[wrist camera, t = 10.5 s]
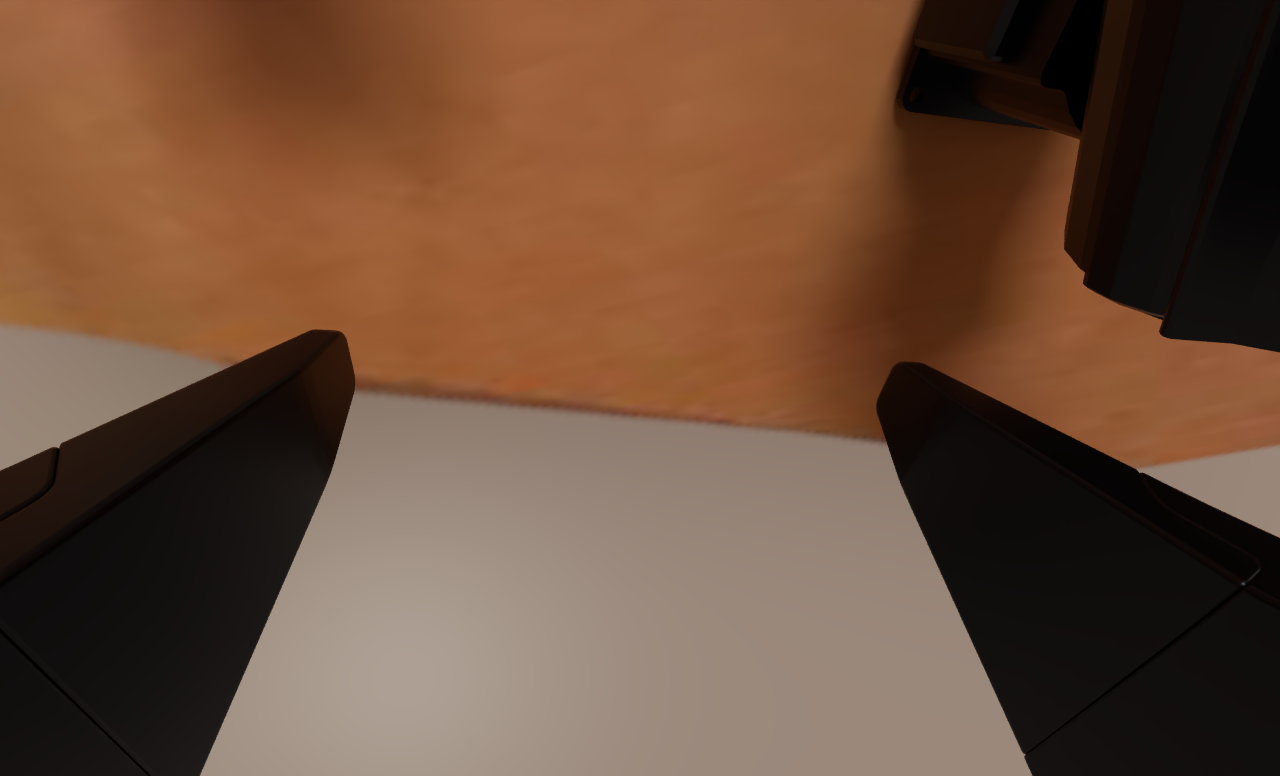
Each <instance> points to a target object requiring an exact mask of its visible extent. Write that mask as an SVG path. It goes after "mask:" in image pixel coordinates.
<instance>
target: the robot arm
mask: <svg viewBox="0 0 1280 776" xmlns="http://www.w3.org/2000/svg"><path fill="white" fill-rule="evenodd" d="M914 41H915V46H914V49H913V51H912V54H911V57H910V60H909V63H908V65H907V68H906V71H905V74H904V77H903V79H902V82H901V85H900V88H899V90H898V95H897V102H898V105H899V106H900V107H901V108H903V109H905V110H908V111H910V112H916V113H924V114H931V115H939V116H947V117H954V118H962V119H970V120H977V121H985V122H993V123H1000V124H1008V125H1016V126H1023V127H1031V128H1039V129H1046V130H1053V131H1056V132H1059V133H1062V134H1065V135H1068V136H1071V137H1074V138H1077V139H1080V144H1079V150H1078V155H1077V161H1076V167H1075V173H1074V179H1073V184H1072V190H1071V196H1070V202H1069V206H1068V212H1067V218H1066V225H1065V234H1064V250H1065V251H1066V252H1067V253H1068V255H1069V256H1070V257H1071V258H1072V259H1073V261H1074V262H1075V263H1076V264H1077V266H1078V267H1079V268H1080V269H1081V270H1083V271H1084V272H1085V275H1084V279H1083V284H1084V285H1085V286H1086V287H1087V288H1089V289H1090V290H1092V291H1094V292H1095V293H1097V294H1099V295H1101V296H1103V297H1105V298H1107V299H1109V300H1111V301H1113V302H1115V303H1117V304H1119V305H1122V306H1125V307H1128V308H1131V309H1134V310H1137V311H1140V312H1143V313H1145V314H1148V315H1150V316H1153V317H1156V318H1158V319H1161V320H1163V321H1162V324H1161V327H1160V330H1159V332H1160V334H1161V335H1162V336H1163V337H1166V338H1169V339H1180V340H1193V341H1206V342H1219V343H1232V344H1237V345H1243V346H1248V347H1253V348H1259V349H1264V350H1270V351H1275V352H1280V0H926V2H925V5H924V8H923V11H922V14H921V17H920V19H919V22H918V25H917V28H916V31H915V34H914ZM915 88H918V89H919V93H918V96H917V98H916V99H915V100H913V101H911V102H910V94H911V92H912V91H913V90H914V89H915ZM354 391H355V374H354V370H353V365H352V361H351V356H350V352H349V347H348V343H347V339H346V337H345V335H344V334H343V333H342V332H340V331H335V330H317V329H315V330H310V331H308V332H306V333H303V334H301V335H299V336H297V337H295V338H292V339H290V340H288V341H286V342H284V343H281V344H279V345H277V346H275V347H273V348H270V349H268V350H266V351H264V352H262V353H259V354H257V355H255V356H253V357H251V358H248V359H246V360H244V361H242V362H240V363H237V364H235V365H233V366H231V367H229V368H226V369H224V370H222V371H220V372H218V373H215V374H213V375H211V376H209V377H206V378H204V379H202V380H200V381H198V382H195V383H193V384H191V385H189V386H187V387H185V388H183V389H180V390H178V391H176V392H174V393H171V394H169V395H167V396H165V397H163V398H160V399H158V400H156V401H154V402H151V403H149V404H147V405H145V406H143V407H140V408H138V409H136V410H134V411H132V412H129V413H127V414H125V415H123V416H121V417H118V418H116V419H114V420H112V421H110V422H107V423H105V424H103V425H101V426H99V427H96V428H94V429H92V430H90V431H88V432H85V433H83V434H81V435H79V436H77V437H74V438H72V439H70V440H68V441H66V442H63V443H61V445H60V447H59V448H57V447H52V448H50V449H47V450H45V451H43V452H41V453H39V454H36V455H34V456H32V457H30V458H28V459H25V460H23V461H21V462H19V463H17V464H14V465H12V466H10V467H8V468H5V469H3V470H1V471H0V776H200V774H201V772H202V769H203V767H204V765H205V763H206V760H207V758H208V756H209V753H210V751H211V748H212V746H213V744H214V742H215V740H216V737H217V735H218V733H219V730H220V728H221V726H222V723H223V721H224V719H225V717H226V714H227V712H228V710H229V707H230V705H231V703H232V700H233V698H234V696H235V694H236V691H237V689H238V686H239V684H240V682H241V680H242V677H243V675H244V673H245V671H246V668H247V666H248V663H249V661H250V659H251V657H252V654H253V652H254V650H255V647H256V645H257V643H258V640H259V638H260V636H261V634H262V631H263V629H264V627H265V624H266V622H267V620H268V617H269V615H270V613H271V610H272V608H273V606H274V604H275V601H276V599H277V597H278V594H279V592H280V590H281V588H282V585H283V583H284V581H285V578H286V576H287V574H288V571H289V569H290V567H291V565H292V562H293V560H294V558H295V555H296V553H297V551H298V549H299V546H300V544H301V542H302V539H303V537H304V535H305V532H306V530H307V528H308V525H309V523H310V521H311V518H312V516H313V514H314V512H315V509H316V507H317V505H318V502H319V500H320V498H321V496H322V493H323V491H324V489H325V486H326V484H327V481H328V479H329V476H330V474H331V470H332V468H333V464H334V461H335V458H336V454H337V451H338V447H339V444H340V440H341V437H342V433H343V430H344V426H345V423H346V419H347V416H348V412H349V409H350V405H351V402H352V398H353V395H354ZM876 409H877V414H878V417H879V421H880V424H881V427H882V430H883V433H884V436H885V439H886V442H887V445H888V448H889V451H890V454H891V457H892V460H893V463H894V466H895V469H896V472H897V475H898V478H899V480H900V483H901V486H902V488H903V490H904V493H905V495H906V498H907V499H908V502H909V504H910V506H911V509H912V511H913V513H914V515H915V517H916V519H917V522H918V524H919V526H920V528H921V530H922V533H923V535H924V537H925V539H926V541H927V544H928V546H929V548H930V550H931V553H932V555H933V557H934V559H935V561H936V564H937V566H938V568H939V570H940V572H941V575H942V577H943V579H944V581H945V583H946V585H947V588H948V590H949V592H950V594H951V597H952V599H953V601H954V603H955V605H956V608H957V609H958V612H959V614H960V616H961V619H962V621H963V623H964V625H965V627H966V630H967V632H968V634H969V636H970V638H971V640H972V643H973V645H974V647H975V649H976V652H977V654H978V656H979V658H980V660H981V663H982V665H983V667H984V669H985V671H986V673H987V676H988V678H989V680H990V682H991V685H992V687H993V689H994V691H995V693H996V695H997V698H998V700H999V702H1000V704H1001V707H1002V709H1003V711H1004V713H1005V715H1006V718H1007V720H1008V722H1009V724H1010V726H1011V729H1012V731H1013V733H1014V735H1015V737H1016V740H1017V742H1018V744H1019V746H1020V748H1021V750H1022V752H1023V753H1024V754H1026V755H1025V756H1024V758H1025V760H1026V763H1027V765H1028V767H1029V769H1030V771H1031V773H1032V776H1280V538H1279V537H1277V536H1274V535H1272V534H1270V533H1268V532H1266V531H1264V530H1262V529H1259V528H1257V527H1255V526H1253V525H1251V524H1249V523H1246V522H1244V521H1242V520H1240V519H1238V518H1236V517H1233V516H1231V515H1229V514H1227V513H1225V512H1223V511H1221V510H1219V509H1216V508H1214V507H1212V506H1210V505H1208V504H1206V503H1204V502H1201V501H1199V500H1198V499H1196V498H1194V497H1192V496H1189V495H1187V494H1185V493H1183V492H1181V491H1179V490H1177V489H1175V488H1173V487H1171V486H1169V485H1167V484H1165V483H1163V482H1161V481H1159V480H1157V479H1155V478H1153V477H1151V476H1149V475H1147V474H1145V473H1139V472H1138V471H1137V470H1136V469H1135V468H1133V467H1131V466H1128V465H1126V464H1124V463H1122V462H1120V461H1118V460H1116V459H1114V458H1112V457H1110V456H1108V455H1106V454H1104V453H1102V452H1100V451H1098V450H1096V449H1094V448H1092V447H1090V446H1088V445H1086V444H1084V443H1082V442H1080V441H1078V440H1076V439H1074V438H1072V437H1070V436H1068V435H1066V434H1064V433H1062V432H1060V431H1058V430H1056V429H1054V428H1052V427H1050V426H1048V425H1046V424H1044V423H1042V422H1040V421H1038V420H1036V419H1034V418H1032V417H1030V416H1028V415H1026V414H1024V413H1022V412H1020V411H1018V410H1016V409H1014V408H1012V407H1010V406H1008V405H1006V404H1004V403H1002V402H1000V401H998V400H996V399H994V398H992V397H990V396H988V395H986V394H984V393H982V392H980V391H978V390H976V389H974V388H972V387H970V386H968V385H966V384H964V383H962V382H960V381H958V380H956V379H953V378H951V377H949V376H947V375H945V374H943V373H941V372H939V371H937V370H935V369H933V368H931V367H929V366H927V365H925V364H923V363H919V362H899V363H897V364H895V365H894V366H893V368H892V370H891V372H890V374H889V376H888V378H887V380H886V382H885V384H884V386H883V388H882V390H881V393H880V395H879V397H878V399H877V405H876Z"/></svg>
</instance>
